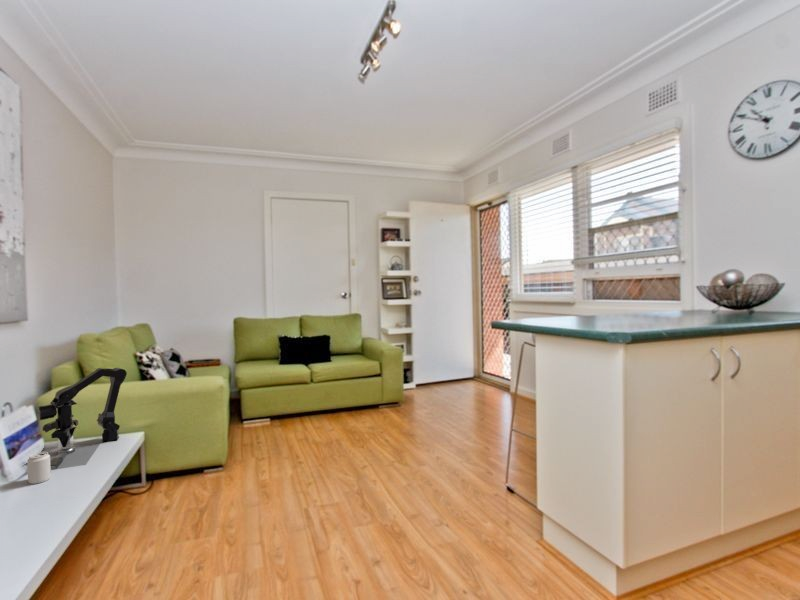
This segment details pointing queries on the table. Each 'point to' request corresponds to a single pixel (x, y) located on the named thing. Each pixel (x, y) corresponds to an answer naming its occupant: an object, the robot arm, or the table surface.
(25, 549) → the table surface
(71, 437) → the socket
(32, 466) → the can
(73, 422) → the robot arm
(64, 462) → the mat
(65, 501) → the table surface
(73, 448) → the ratchet
